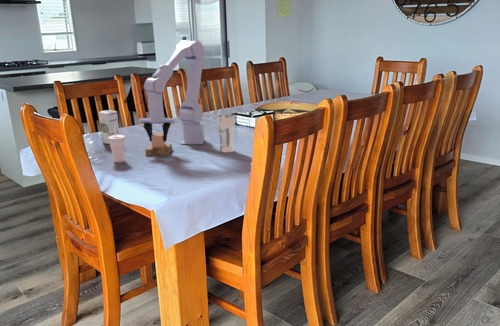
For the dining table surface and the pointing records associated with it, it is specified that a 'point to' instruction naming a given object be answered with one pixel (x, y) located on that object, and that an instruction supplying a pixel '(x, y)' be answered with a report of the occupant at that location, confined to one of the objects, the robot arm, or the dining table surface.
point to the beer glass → (226, 132)
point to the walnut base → (158, 150)
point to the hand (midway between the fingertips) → (158, 140)
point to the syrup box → (108, 124)
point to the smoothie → (117, 146)
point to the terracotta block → (158, 140)
